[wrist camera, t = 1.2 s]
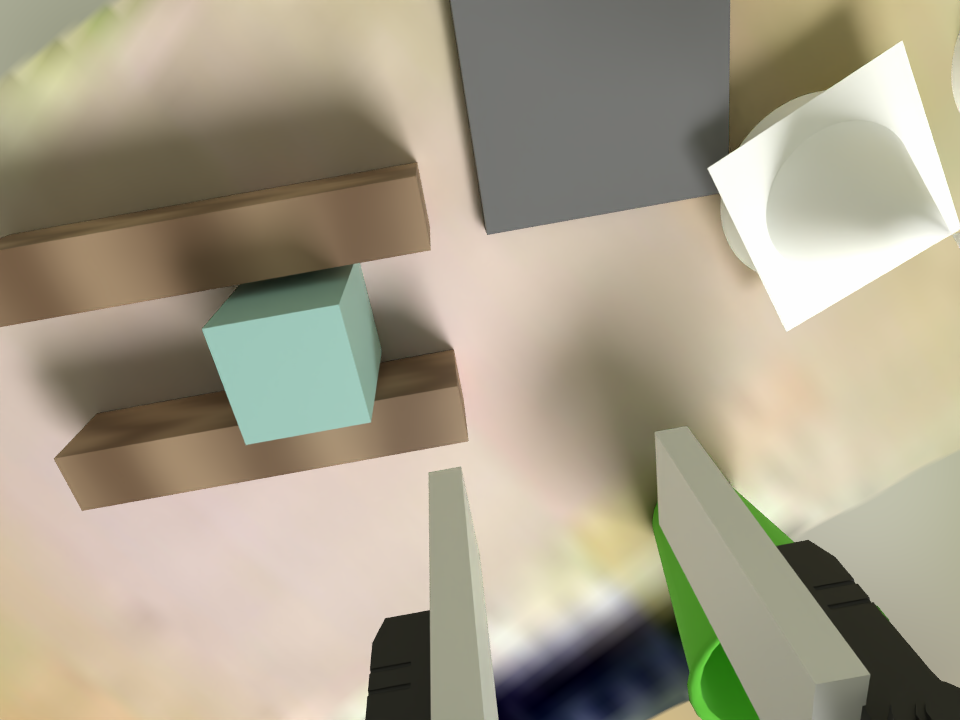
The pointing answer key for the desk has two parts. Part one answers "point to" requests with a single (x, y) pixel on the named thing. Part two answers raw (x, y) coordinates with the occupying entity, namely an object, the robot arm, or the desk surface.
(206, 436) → the parallel wooden bars
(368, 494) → the desk surface
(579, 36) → the rubber mat
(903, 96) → the hourglass
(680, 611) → the cup
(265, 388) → the teal block
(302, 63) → the desk surface
